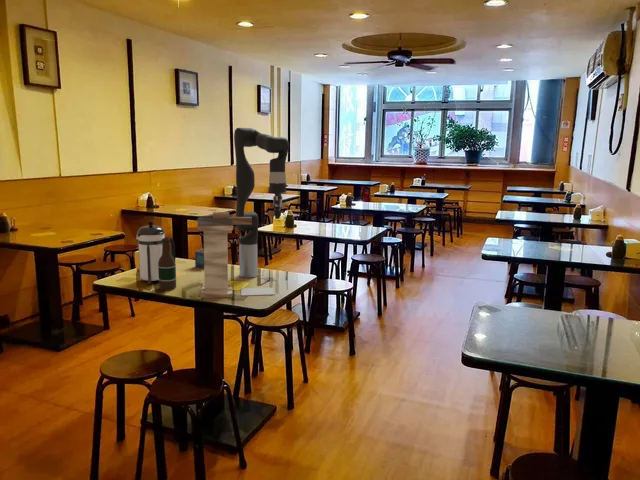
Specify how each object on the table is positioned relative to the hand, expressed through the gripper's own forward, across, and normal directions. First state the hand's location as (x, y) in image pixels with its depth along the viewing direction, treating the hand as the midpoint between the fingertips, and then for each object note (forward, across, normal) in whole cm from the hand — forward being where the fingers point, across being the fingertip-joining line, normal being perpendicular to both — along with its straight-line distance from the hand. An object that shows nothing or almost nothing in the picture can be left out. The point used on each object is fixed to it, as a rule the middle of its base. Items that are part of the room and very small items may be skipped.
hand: (278, 217), depth 226 cm
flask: (+33, -43, -45) cm, 71 cm away
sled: (+2, +5, -20) cm, 21 cm away
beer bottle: (+34, -2, -52) cm, 62 cm away
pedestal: (+34, +5, -28) cm, 45 cm away
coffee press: (+33, -15, -62) cm, 72 cm away
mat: (+34, +2, -10) cm, 36 cm away
